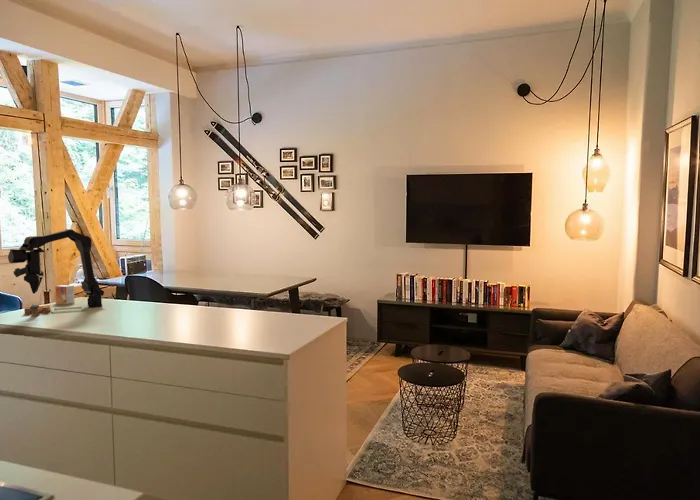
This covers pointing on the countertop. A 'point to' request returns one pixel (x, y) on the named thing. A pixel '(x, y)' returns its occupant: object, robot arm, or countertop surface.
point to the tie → (34, 307)
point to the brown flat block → (36, 312)
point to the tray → (67, 310)
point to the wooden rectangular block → (41, 307)
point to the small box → (64, 294)
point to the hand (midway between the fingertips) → (34, 292)
